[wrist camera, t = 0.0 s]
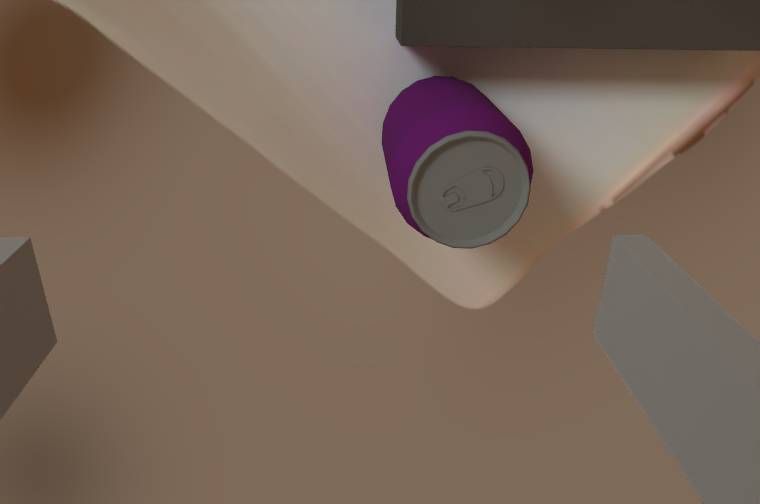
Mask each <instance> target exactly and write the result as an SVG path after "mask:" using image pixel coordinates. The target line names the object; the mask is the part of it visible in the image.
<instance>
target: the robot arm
mask: <svg viewBox="0 0 760 504" xmlns="http://www.w3.org/2000/svg"><path fill="white" fill-rule="evenodd" d="M593 336H594V337H595V339H596V340H597V342H598V343H599V345H600V346H601V348H602V349H603V351H604V352H605V354H606V356H607V357H608V359H609V360H610V361H611V363H612V365H613V366H614V368H615V369H616V371H617V372H618V374H619V375H620V377H621V379H622V380H623V382H624V383H625V385H626V386H627V388H628V389H629V391H630V392H631V394H632V395H633V397H634V398H635V400H636V402H637V403H638V405H639V406H640V408H641V409H642V410H643V412H644V414H645V415H646V417H647V418H648V420H649V421H650V423H651V424H652V426H653V427H654V429H655V430H656V432H657V434H658V435H659V437H660V438H661V440H662V441H663V443H664V444H665V446H666V447H667V449H668V451H669V452H670V453H671V455H672V456H673V458H674V459H675V461H676V463H677V464H678V466H679V467H680V469H681V470H682V472H683V473H684V475H685V476H686V478H687V480H688V481H689V483H690V484H691V485H692V487H693V489H694V490H695V492H696V493H697V495H698V496H699V498H700V499H701V501H702V503H703V504H760V342H759V341H758V340H757V339H756V338H755V337H754V336H753V335H752V334H751V333H750V332H748V331H747V330H746V329H745V328H744V327H743V326H742V325H741V324H740V323H739V322H738V321H737V320H736V319H735V318H733V317H732V316H731V315H730V314H729V313H728V312H727V311H726V310H725V309H724V308H723V307H722V306H721V305H720V304H719V303H718V302H717V301H716V300H714V299H713V298H712V297H711V296H710V295H709V294H708V293H707V292H706V291H705V290H704V289H703V288H702V287H701V286H699V285H698V284H697V283H696V282H695V281H694V280H693V279H692V278H691V277H690V276H689V275H688V274H687V273H686V272H685V271H684V270H682V269H681V268H680V267H679V266H678V265H677V264H676V263H675V262H674V261H673V260H672V259H671V258H670V257H669V256H667V255H666V254H665V253H664V252H663V251H662V250H661V249H660V248H659V247H658V246H657V245H656V244H655V243H654V242H653V241H652V240H650V239H649V238H648V237H647V236H646V235H614V236H613V240H612V244H611V249H610V254H609V259H608V264H607V268H606V273H605V278H604V282H603V287H602V291H601V296H600V301H599V306H598V310H597V315H596V320H595V324H594V329H593ZM56 343H57V339H56V335H55V331H54V327H53V324H52V320H51V316H50V312H49V308H48V304H47V301H46V296H45V293H44V289H43V285H42V281H41V277H40V273H39V270H38V266H37V262H36V258H35V254H34V250H33V247H32V243H31V239H30V238H0V420H1V419H2V417H3V416H4V414H5V413H6V412H7V410H8V409H9V407H10V406H11V405H12V403H13V402H14V401H15V399H16V398H17V397H18V395H19V394H20V392H21V391H22V390H23V388H24V387H25V386H26V384H27V383H28V381H29V380H30V378H31V377H32V376H33V375H34V373H35V372H36V370H37V369H38V368H39V366H40V365H41V363H42V362H43V360H44V359H45V358H46V356H47V355H48V354H49V352H50V351H51V350H52V348H53V347H54V346H55V344H56Z"/></svg>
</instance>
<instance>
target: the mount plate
mask: <svg viewBox="0 0 760 504" xmlns="http://www.w3.org/2000/svg"><path fill="white" fill-rule="evenodd" d="M396 38H397V40H398V42H399V43H400V45H401V46H463V47H537V48H610V49H683V50H757V51H760V0H397V4H396Z"/></svg>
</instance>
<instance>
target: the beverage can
mask: <svg viewBox="0 0 760 504" xmlns="http://www.w3.org/2000/svg"><path fill="white" fill-rule="evenodd" d="M382 146H383V151H384V156H385V161H386V166H387V171H388V176H389V180H390V185H391V189H392V193H393V197H394V200H395V204H396V207H397V209H398V210H399V212H400V213H401V215H402V216H403V217H404V219H405V220H406V222H407V223H408V224H409V225H410V226H412V227H413V228H414V229H416V230H417V231H418V232H420V233H421V234H422V235H424V236H426V237H428V238H431V239H433V240H435V241H436V242H438V243H441V244H444V245H447V246H450V247H453V248H475V247H479V246H483V245H487V244H490V243H492V242H494V241H495V240H497V239H499V238H501V237H502V236H504V235H506V234H507V233H508V232H509V231H510V230H511V229H512V228H513V227H514V226H515V225H516V224H517V223H518V222H519V220H520V218H521V216H522V214H523V212H524V211H525V209H526V207H527V205H528V199H529V194H530V188H531V180H532V175H533V166H532V159H531V153H530V149H529V147H528V145H527V143H526V141H525V140H524V138H523V136H522V134H521V132H520V131H519V130H518V129H517V128H516V127H515V126H514V125H513V124H512V123H511V122H510V121H509V120H508V118H507V117H506V116H505V115H504V114H503V113H502V112H501V111H500V110H499V109H498V108H497V107H496V106H495V105H494V104H493V103H492V102H491V101H490V100H489V99H488V98H487V97H486V96H485V95H484V94H482V93H481V92H480V91H479V90H478V89H477V88H476V87H475V86H473V85H472V84H470V83H467V82H465V81H462V80H460V79H457V78H455V77H445V76H433V77H430V78H426V79H422V80H419V81H416V82H415V83H413V84H412V85H410V86H409V87H407V88H406V89H404V90H403V91H401V93H400V94H399V95H398V96H397V97H396V99H395V100H394V101H393V102H392V104H391V105H390V107H389V109H388V112H387V114H386V117H385V119H384V122H383V131H382Z"/></svg>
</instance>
